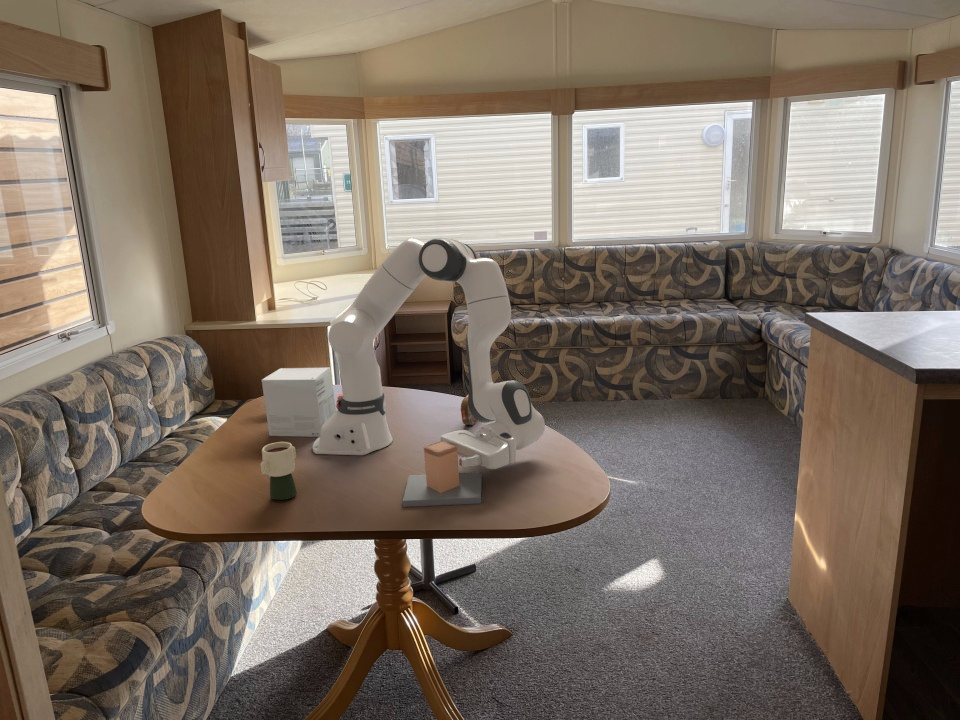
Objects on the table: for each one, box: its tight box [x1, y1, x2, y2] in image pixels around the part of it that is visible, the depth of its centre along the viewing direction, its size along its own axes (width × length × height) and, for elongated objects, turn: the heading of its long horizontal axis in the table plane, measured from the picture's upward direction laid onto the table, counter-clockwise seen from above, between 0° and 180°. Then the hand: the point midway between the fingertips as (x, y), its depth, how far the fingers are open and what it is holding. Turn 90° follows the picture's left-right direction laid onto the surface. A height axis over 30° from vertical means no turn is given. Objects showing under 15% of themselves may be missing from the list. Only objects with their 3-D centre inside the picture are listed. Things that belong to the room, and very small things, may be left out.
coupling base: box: [402, 471, 482, 508], centre depth 168 cm, size 18×14×9 cm
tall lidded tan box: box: [423, 441, 460, 493], centre depth 167 cm, size 6×6×10 cm
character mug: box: [260, 441, 298, 501], centre depth 169 cm, size 11×7×13 cm, turn 150°
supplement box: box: [261, 366, 337, 438], centre depth 214 cm, size 17×13×18 cm
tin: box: [460, 393, 479, 426], centre depth 215 cm, size 15×3×8 cm, turn 162°
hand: (448, 457), depth 168 cm, fingers open, 8 cm apart
